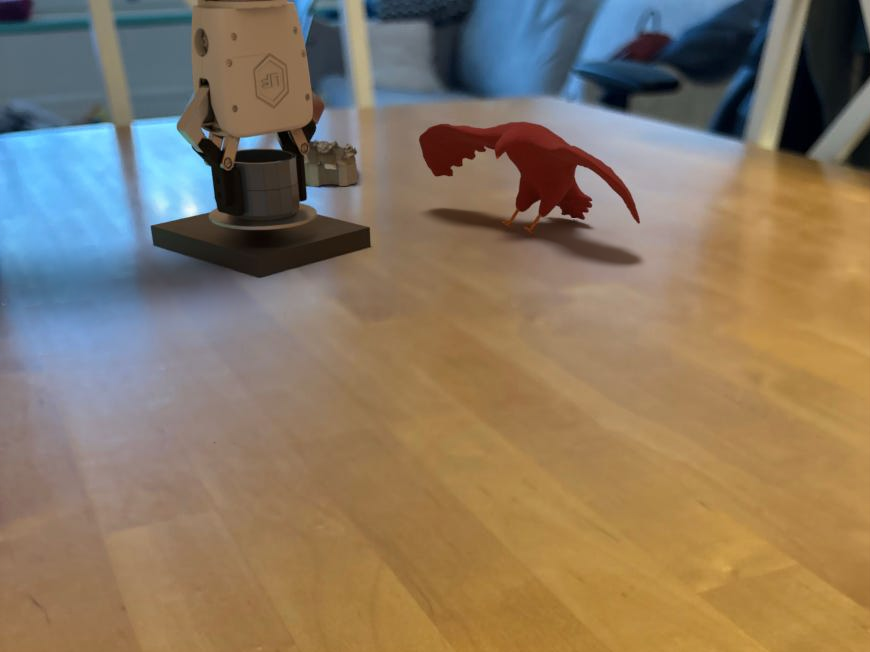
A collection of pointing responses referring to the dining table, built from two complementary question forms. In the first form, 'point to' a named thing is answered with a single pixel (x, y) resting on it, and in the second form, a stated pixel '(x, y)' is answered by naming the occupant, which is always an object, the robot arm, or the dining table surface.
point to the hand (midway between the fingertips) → (262, 204)
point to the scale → (261, 243)
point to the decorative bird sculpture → (524, 164)
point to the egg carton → (330, 164)
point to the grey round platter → (229, 221)
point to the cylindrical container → (268, 183)
